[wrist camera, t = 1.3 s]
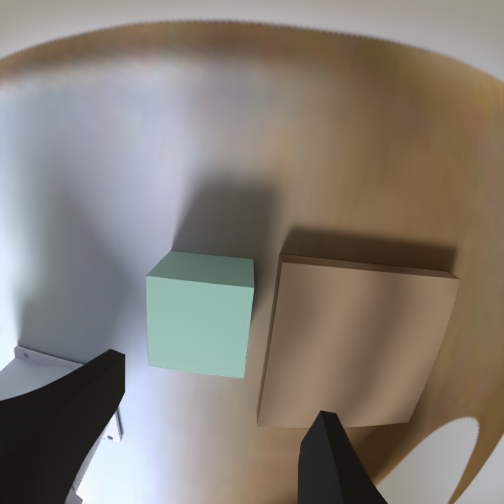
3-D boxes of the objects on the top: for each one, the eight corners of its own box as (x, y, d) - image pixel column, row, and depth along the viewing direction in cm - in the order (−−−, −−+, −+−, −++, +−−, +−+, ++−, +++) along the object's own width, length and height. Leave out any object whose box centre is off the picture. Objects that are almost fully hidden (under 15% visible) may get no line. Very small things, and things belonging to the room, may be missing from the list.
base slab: (256, 410, 22) (257, 426, 20) (279, 254, 19) (282, 262, 18) (400, 408, 23) (408, 422, 21) (447, 271, 20) (460, 279, 18)
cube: (169, 324, 21) (148, 365, 16) (170, 250, 19) (146, 275, 15) (245, 333, 21) (243, 378, 16) (253, 258, 20) (254, 287, 15)
